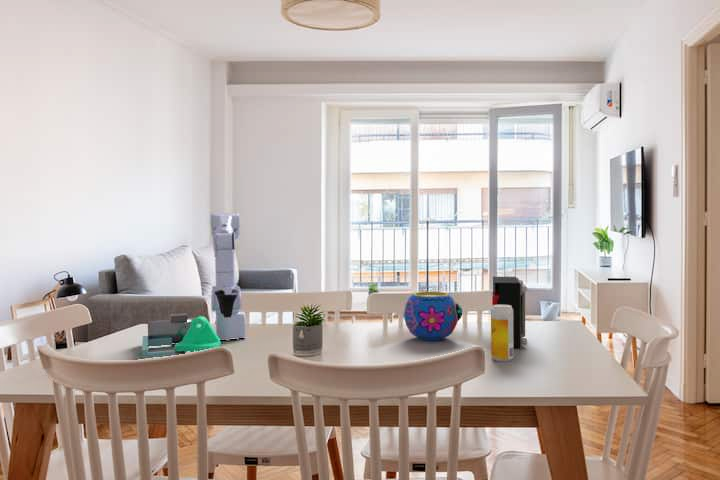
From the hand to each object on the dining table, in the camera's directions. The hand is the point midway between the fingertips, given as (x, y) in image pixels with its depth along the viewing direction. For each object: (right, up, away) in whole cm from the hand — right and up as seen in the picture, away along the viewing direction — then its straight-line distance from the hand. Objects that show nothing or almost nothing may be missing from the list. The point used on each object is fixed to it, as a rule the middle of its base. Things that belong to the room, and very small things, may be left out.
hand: (226, 315), depth 175 cm
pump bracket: (-19, -11, -6) cm, 23 cm away
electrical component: (+89, -9, +3) cm, 89 cm away
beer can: (+81, -10, -17) cm, 84 cm away
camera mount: (-8, -11, -2) cm, 14 cm away
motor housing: (-19, -10, +8) cm, 23 cm away
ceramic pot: (+65, -9, +10) cm, 66 cm away
